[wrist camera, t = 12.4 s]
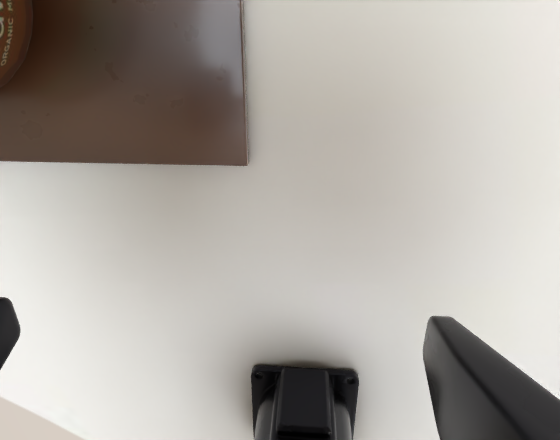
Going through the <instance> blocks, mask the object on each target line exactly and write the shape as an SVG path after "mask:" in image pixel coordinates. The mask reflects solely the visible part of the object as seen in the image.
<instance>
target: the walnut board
mask: <svg viewBox="0 0 560 440" xmlns="http://www.w3.org/2000/svg"><path fill="white" fill-rule="evenodd" d="M32 11H33V23H32V35H31V39H30V43H29V46H28V50H27V54H26V58H25V60H24V61H23V63H22V64H21V65H20V67H19V68H18V70H17V71H16V72H15V74H14V75H13V77H12V78H11V79H10V81H9V82H8V83H7V84H5V85H3V86H2V87H0V161H17V162H69V163H122V164H174V165H227V166H247V165H248V163H249V152H248V125H247V97H246V69H245V41H244V13H243V0H32Z"/></svg>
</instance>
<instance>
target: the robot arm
mask: <svg viewBox="0 0 560 440" xmlns="http://www.w3.org/2000/svg"><path fill="white" fill-rule="evenodd" d="M19 336H20V325H19V322H18V319H17V316H16V313H15V310H14V307H13V304H12V302H11V301H10V300H9V299H8V298H5V297H0V370H1V368H2V366H3V364H4V363H5V361H6V359H7V358H8V356H9V354H10V352H11V351H12V349H13V347H14V346H15V344H16V342H17V340H18V338H19ZM423 360H424V365H425V370H426V375H427V380H428V385H429V390H430V395H431V400H432V405H433V410H434V415H435V420H436V425H437V429H438V433H439V437H440V440H560V400H559V399H558V398H557V397H555V396H554V395H553V394H551V393H550V392H549V391H547V390H546V389H545V388H543V387H542V386H541V385H540V384H538V383H537V382H536V381H534V380H533V379H532V378H530V377H529V376H528V375H526V374H525V373H524V372H523V371H521V370H520V369H519V368H517V367H516V366H515V365H513V364H512V363H511V362H509V361H508V360H507V359H506V358H504V357H503V356H502V355H500V354H499V353H498V352H496V351H495V350H494V349H493V348H491V347H490V346H489V345H487V344H486V343H485V342H483V341H482V340H481V339H479V338H478V337H477V336H476V335H474V334H473V333H472V332H470V331H469V330H468V329H466V328H465V327H464V326H462V325H461V324H460V323H459V322H457V321H456V320H455V319H453V318H452V317H446V316H432V317H430V318H429V320H428V324H427V329H426V334H425V340H424V345H423ZM257 373H260V374H261V375H260V374H257ZM349 378H352V379H349ZM251 384H252V407H253V430H254V440H353V433H354V423H355V414H356V404H357V395H358V386H359V379H358V374H357V373H356V372H355V371H353V370H339V369H320V368H302V367H283V366H264V365H258V366H255V367H254V368H253V369H252V374H251Z"/></svg>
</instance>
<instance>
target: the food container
mask: <svg viewBox="0 0 560 440" xmlns="http://www.w3.org/2000/svg"><path fill="white" fill-rule="evenodd" d="M32 23H33V11H32V0H0V87H2V86H3V85H5V84H7V83H8V82H9V81H10V79H11V78H12V77H13V75H14V74H15V72H16V71H17V70H18V68H19V67H20V65H21V64H22V63H23V61H24V60H25V58H26V54H27V50H28V46H29V43H30V39H31V35H32Z"/></svg>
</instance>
